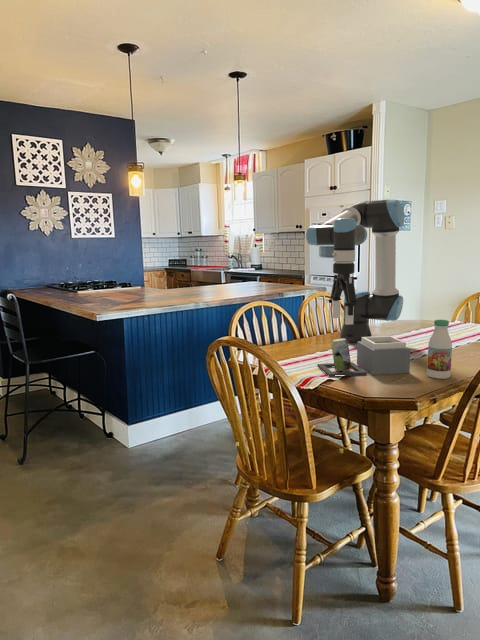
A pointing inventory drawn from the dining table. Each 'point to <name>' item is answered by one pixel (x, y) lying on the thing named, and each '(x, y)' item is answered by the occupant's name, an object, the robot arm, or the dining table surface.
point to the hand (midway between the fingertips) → (342, 321)
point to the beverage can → (341, 354)
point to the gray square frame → (351, 373)
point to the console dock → (383, 355)
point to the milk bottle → (439, 351)
